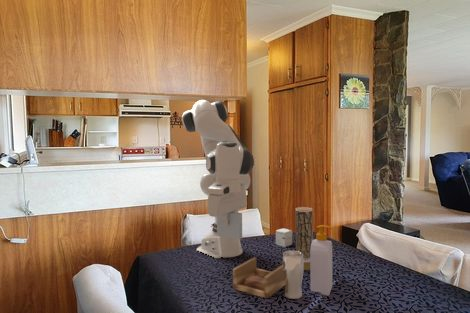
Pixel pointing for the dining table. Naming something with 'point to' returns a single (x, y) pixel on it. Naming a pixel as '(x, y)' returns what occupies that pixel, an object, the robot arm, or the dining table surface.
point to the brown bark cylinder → (304, 233)
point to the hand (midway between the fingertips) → (229, 224)
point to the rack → (271, 279)
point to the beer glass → (293, 273)
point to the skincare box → (284, 237)
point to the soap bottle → (321, 263)
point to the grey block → (230, 226)
